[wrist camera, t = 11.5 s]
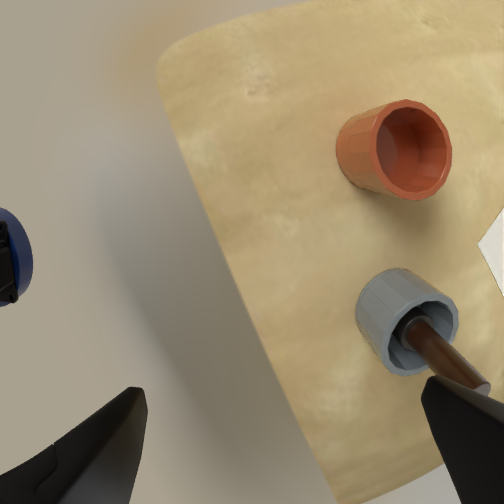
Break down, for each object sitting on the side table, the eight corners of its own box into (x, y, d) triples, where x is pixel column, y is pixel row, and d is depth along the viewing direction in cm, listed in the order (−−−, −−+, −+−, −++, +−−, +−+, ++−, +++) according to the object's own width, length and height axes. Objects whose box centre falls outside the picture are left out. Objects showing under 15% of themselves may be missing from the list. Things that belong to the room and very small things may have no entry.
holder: (333, 186, 20) (366, 195, 15) (336, 108, 19) (370, 91, 13) (402, 193, 20) (448, 204, 15) (406, 120, 19) (452, 111, 14)
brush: (374, 324, 22) (450, 422, 12) (381, 292, 22) (469, 381, 11) (403, 322, 22) (484, 410, 12) (410, 291, 22) (503, 371, 11)
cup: (349, 342, 23) (372, 380, 18) (361, 267, 22) (392, 295, 17) (414, 337, 23) (444, 369, 19) (429, 268, 22) (467, 291, 17)
